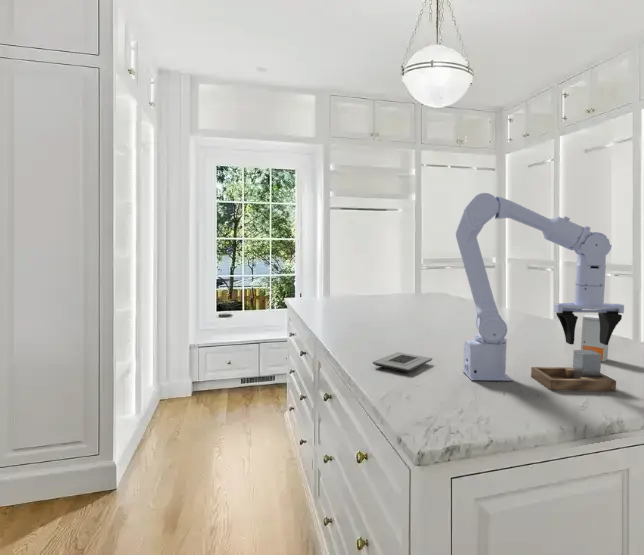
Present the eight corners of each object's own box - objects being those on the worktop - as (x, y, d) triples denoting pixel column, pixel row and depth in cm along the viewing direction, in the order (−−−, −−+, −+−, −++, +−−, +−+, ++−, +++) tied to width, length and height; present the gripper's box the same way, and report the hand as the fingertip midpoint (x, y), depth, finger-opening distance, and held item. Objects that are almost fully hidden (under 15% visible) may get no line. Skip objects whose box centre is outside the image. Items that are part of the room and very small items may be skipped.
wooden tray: (550, 390, 97) (550, 380, 96) (531, 376, 106) (531, 367, 106) (615, 391, 96) (616, 380, 96) (590, 377, 106) (590, 367, 106)
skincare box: (579, 358, 123) (581, 316, 122) (583, 355, 126) (585, 314, 125) (605, 362, 119) (607, 318, 118) (608, 359, 122) (610, 316, 121)
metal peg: (581, 384, 99) (583, 354, 99) (572, 378, 103) (573, 349, 103) (599, 384, 99) (601, 354, 99) (589, 379, 103) (591, 350, 103)
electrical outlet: (397, 359, 124) (397, 350, 124) (432, 365, 118) (432, 357, 117) (372, 369, 114) (372, 360, 114) (408, 377, 108) (408, 368, 107)
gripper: (565, 286, 96) (563, 347, 97) (634, 287, 95) (630, 348, 96) (550, 283, 103) (548, 340, 104) (614, 283, 102) (611, 340, 103)
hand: (586, 343), depth 101 cm, fingers open, 7 cm apart
